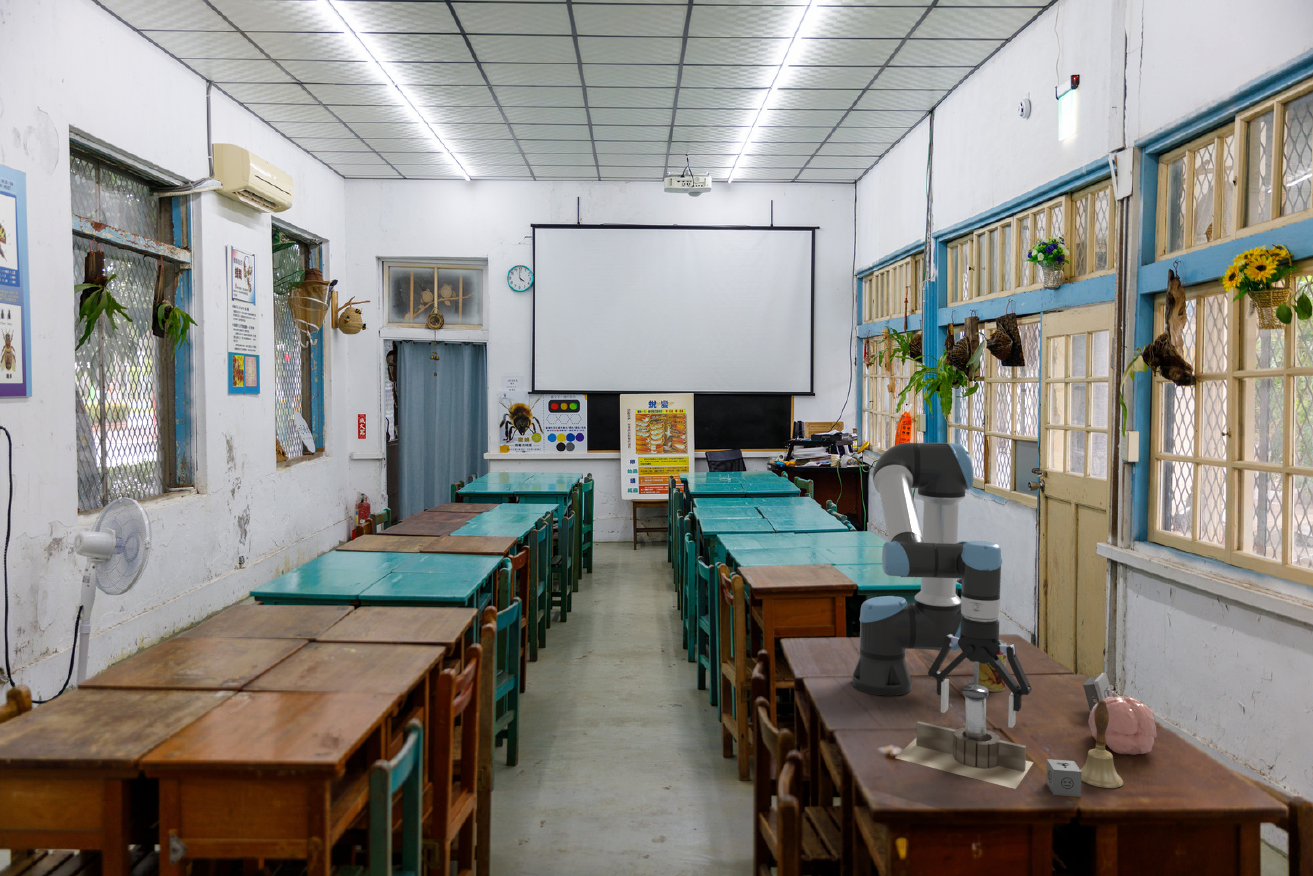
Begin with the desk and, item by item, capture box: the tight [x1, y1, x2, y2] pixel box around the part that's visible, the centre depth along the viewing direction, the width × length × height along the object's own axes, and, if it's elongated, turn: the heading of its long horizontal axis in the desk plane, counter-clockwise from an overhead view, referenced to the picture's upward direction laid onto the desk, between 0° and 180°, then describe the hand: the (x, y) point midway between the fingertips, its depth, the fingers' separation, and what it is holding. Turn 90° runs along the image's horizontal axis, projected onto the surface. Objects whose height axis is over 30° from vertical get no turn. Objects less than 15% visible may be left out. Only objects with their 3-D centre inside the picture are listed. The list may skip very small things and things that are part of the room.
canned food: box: [972, 639, 1007, 693], centre depth 229 cm, size 8×8×12 cm
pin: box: [962, 684, 990, 741], centre depth 179 cm, size 5×5×15 cm
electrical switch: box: [1082, 672, 1114, 713], centre depth 210 cm, size 9×5×9 cm, turn 141°
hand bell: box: [1080, 700, 1124, 789], centre depth 174 cm, size 8×8×16 cm
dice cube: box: [1045, 758, 1082, 798], centre depth 169 cm, size 5×5×5 cm
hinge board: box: [894, 721, 1034, 790], centre depth 180 cm, size 24×15×6 cm, turn 54°
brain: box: [1088, 695, 1158, 756], centre depth 190 cm, size 16×13×12 cm
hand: (977, 718), depth 180 cm, fingers open, 13 cm apart
